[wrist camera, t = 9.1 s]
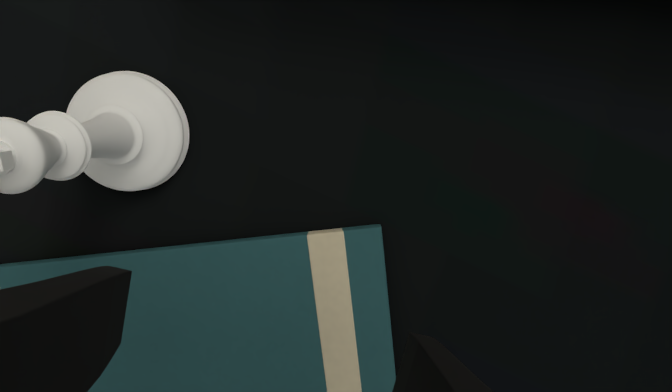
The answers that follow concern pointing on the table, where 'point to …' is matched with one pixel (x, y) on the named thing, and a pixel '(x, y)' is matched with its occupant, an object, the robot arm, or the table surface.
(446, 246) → the table surface
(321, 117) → the table surface
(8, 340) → the robot arm
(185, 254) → the towel
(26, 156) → the chess piece
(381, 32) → the table surface
